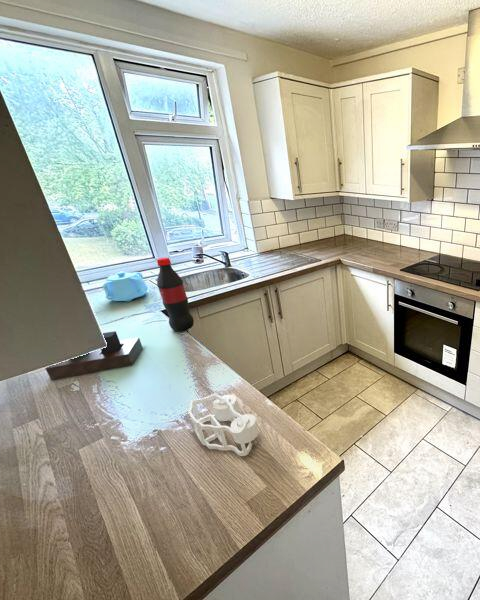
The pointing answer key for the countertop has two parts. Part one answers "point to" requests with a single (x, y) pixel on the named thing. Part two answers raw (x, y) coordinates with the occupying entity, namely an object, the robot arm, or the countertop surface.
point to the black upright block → (111, 342)
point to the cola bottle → (174, 296)
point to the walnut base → (98, 361)
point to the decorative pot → (124, 286)
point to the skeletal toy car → (224, 410)
